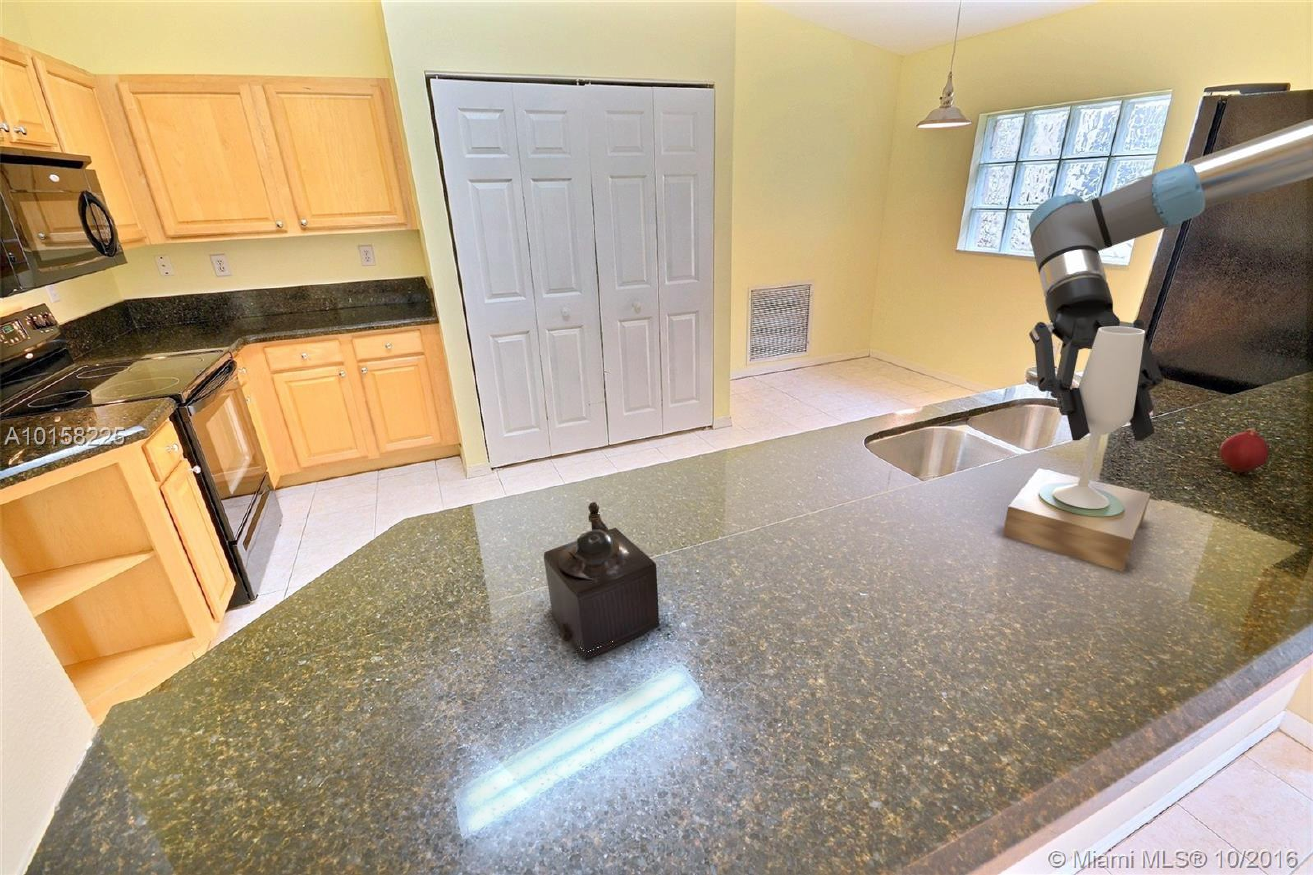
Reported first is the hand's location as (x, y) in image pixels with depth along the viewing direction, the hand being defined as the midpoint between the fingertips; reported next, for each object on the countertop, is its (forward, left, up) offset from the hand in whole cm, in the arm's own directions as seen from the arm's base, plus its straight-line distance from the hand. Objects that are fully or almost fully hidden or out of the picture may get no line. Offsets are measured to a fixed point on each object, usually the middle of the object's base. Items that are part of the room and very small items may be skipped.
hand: (1112, 436), depth 75 cm
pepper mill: (+37, +56, -16) cm, 69 cm away
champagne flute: (+2, -3, -11) cm, 12 cm away
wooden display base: (+2, -3, -16) cm, 17 cm away
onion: (-14, -40, -16) cm, 45 cm away
